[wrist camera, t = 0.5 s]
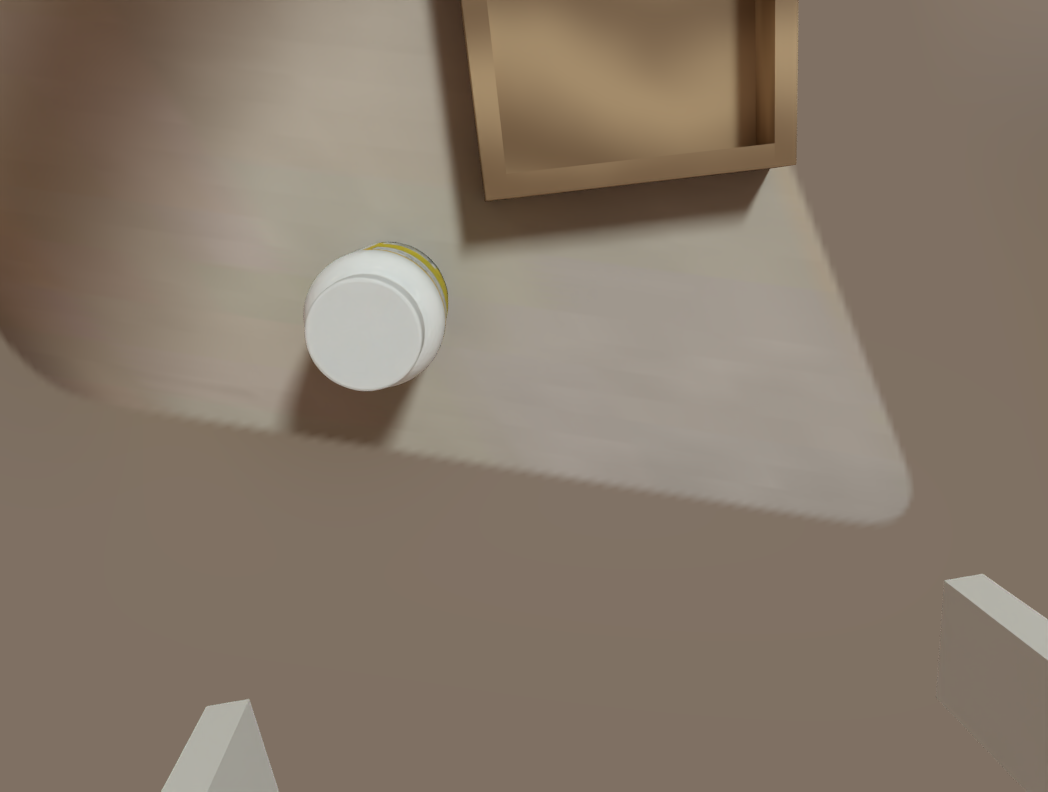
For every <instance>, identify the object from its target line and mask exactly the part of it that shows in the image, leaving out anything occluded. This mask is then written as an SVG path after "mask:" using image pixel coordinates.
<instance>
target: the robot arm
mask: <svg viewBox="0 0 1048 792" xmlns="http://www.w3.org/2000/svg"><path fill="white" fill-rule="evenodd" d="M936 698H937V699H938V700H939V701H940V702H941V704H942V705H943V706H944V707H945V708H946V709H947V710H948V711H949V712H950V713H951V714H952V715H953V716H954V717H955V718H956V719H957V720H958V721H959V722H960V723H961V724H962V725H963V726H964V728H966V730H968V732H969V733H970V734H971V735H972V736H973V737H974V738H975V739H976V740H977V741H978V742H979V743H980V744H981V745H982V746H983V747H984V748H985V749H986V750H987V751H988V752H989V753H990V754H991V756H992V757H993V758H994V759H995V760H996V761H997V762H998V763H999V764H1000V765H1001V766H1002V767H1003V768H1004V769H1005V770H1006V771H1007V772H1008V773H1009V774H1010V775H1011V776H1012V777H1013V778H1014V779H1015V780H1016V781H1017V782H1018V784H1019V785H1021V786H1022V788H1023V789H1024V790H1025V791H1026V792H1048V619H1046V618H1045V617H1043V616H1042V615H1041V614H1039V613H1038V612H1036V611H1035V610H1033V609H1032V608H1031V607H1029V606H1028V605H1026V604H1025V603H1024V602H1022V601H1021V600H1019V599H1018V598H1016V597H1015V596H1013V595H1012V594H1011V593H1009V592H1008V591H1006V590H1005V589H1003V588H1002V587H1001V586H999V585H998V584H996V583H995V582H994V581H992V580H991V579H989V578H988V577H986V576H985V575H984V574H979V575H974V576H968V577H962V578H956V579H950V580H945V581H944V592H943V605H942V619H941V634H940V648H939V662H938V677H937V690H936ZM161 792H279V791H278V787H277V784H276V781H275V778H274V775H273V772H272V769H271V765H270V762H269V759H268V756H267V753H266V750H265V747H264V744H263V741H262V737H261V734H260V731H259V728H258V725H257V722H256V719H255V716H254V712H253V709H252V706H251V703H250V700H249V699H247V700H241V701H235V702H229V703H223V704H218V705H212V706H207V707H206V709H205V710H204V712H203V714H202V716H201V718H200V720H199V722H198V724H197V725H196V727H195V729H194V731H193V733H192V735H191V737H190V738H189V740H188V742H187V744H186V746H185V748H184V750H183V752H182V753H181V755H180V757H179V759H178V761H177V763H176V765H175V767H174V768H173V770H172V772H171V774H170V776H169V778H168V780H167V782H166V784H165V785H164V787H163V789H162V791H161Z"/></svg>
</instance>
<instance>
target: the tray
mask: <svg viewBox="0 0 1048 792" xmlns="http://www.w3.org/2000/svg"><path fill="white" fill-rule="evenodd" d="M460 4H461V12H462V20H463V28H464V36H465V44H466V52H467V61H468V69H469V77H470V85H471V93H472V101H473V109H474V117H475V125H476V133H477V141H478V149H479V157H480V165H481V174H482V182H483V190H484V198H485V202H486V201H494V200H503V199H512V198H520V197H529V196H537V195H546V194H555V193H563V192H572V191H581V190H589V189H598V188H606V187H615V186H624V185H632V184H641V183H650V182H658V181H667V180H675V179H684V178H693V177H701V176H710V175H719V174H727V173H736V172H745V171H753V170H762V169H770V168H777V167H784V166H790V165H796V148H797V143H796V142H797V70H798V0H460Z"/></svg>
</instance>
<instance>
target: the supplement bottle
mask: <svg viewBox="0 0 1048 792" xmlns="http://www.w3.org/2000/svg"><path fill="white" fill-rule="evenodd" d="M447 311H448V291H447V287H446V284H445V281H444V279H443V276H442V274H441V272H440V271H439V269H438V268H437V266H436V265H435V264H434V262H433V261H432V260H431V259H430V258H429V257H428V256H427V255H425V254H424V253H422V252H421V251H419V250H418V249H416V248H414V247H411V246H409V245H406V244H402V243H396V242H382V243H376V244H372V245H369V246H367V247H364V248H362V249H359V250H357V251H355V252H352V253H350V254H347V255H344V256H342V257H340V258H338V259H336V260H335V261H333V262H331V263H330V264H329V265H328V266H326V267H325V268H324V269H323V270H322V271H321V272H320V273H319V274H318V276H317V277H316V278H315V280H314V281H313V283H312V285H311V286H310V288H309V291H308V293H307V296H306V300H305V304H304V315H303V318H304V327H305V341H306V346H307V349H308V352H309V355H310V356H311V358H312V360H313V362H314V363H315V365H316V366H317V368H318V369H319V370H320V371H321V372H322V373H323V374H324V375H325V376H326V377H327V378H329V379H330V380H331V381H333V382H335V383H337V384H338V385H340V386H343V387H345V388H348V389H352V390H357V391H375V390H380V389H384V388H387V387H392V386H396V385H400V384H402V383H405V382H407V381H409V380H411V379H413V378H415V377H416V376H417V375H419V374H420V373H421V372H423V371H424V370H425V369H426V368H427V367H428V366H429V364H430V363H431V362H432V361H433V359H434V358H435V356H436V354H437V352H438V350H439V348H440V346H441V343H442V340H443V337H444V332H445V326H446V318H447Z"/></svg>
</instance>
